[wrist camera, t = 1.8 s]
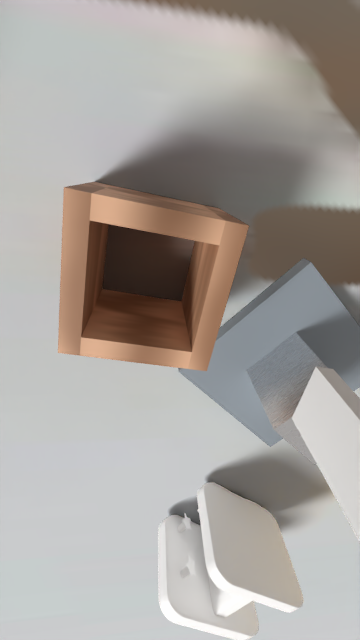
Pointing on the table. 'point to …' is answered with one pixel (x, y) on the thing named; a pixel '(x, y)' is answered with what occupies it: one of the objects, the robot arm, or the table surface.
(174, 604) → the cable organizer
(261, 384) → the square post
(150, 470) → the table surface
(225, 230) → the open wooden box
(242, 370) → the slate board
